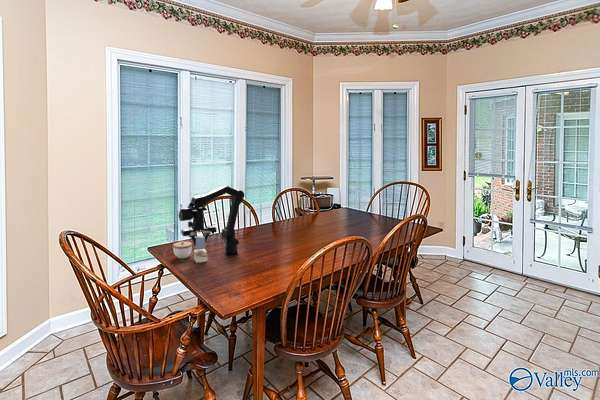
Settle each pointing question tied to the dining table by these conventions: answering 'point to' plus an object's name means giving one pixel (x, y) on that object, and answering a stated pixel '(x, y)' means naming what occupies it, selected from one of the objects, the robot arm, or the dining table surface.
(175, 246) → the lidded jar
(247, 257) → the dining table surface
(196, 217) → the robot arm
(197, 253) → the slab top
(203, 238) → the blue block
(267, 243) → the dining table surface
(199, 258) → the slab bottom
